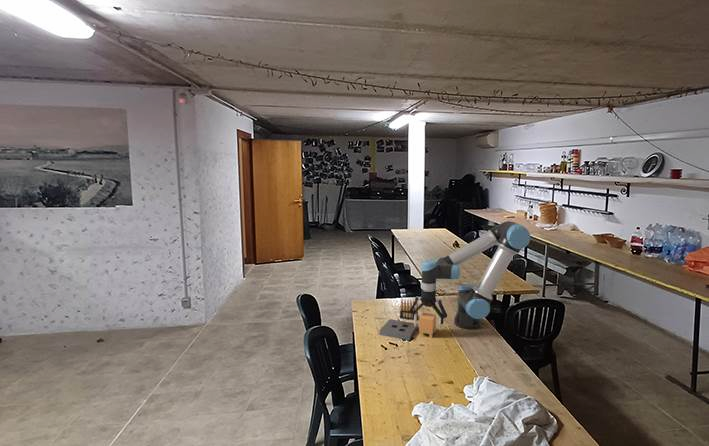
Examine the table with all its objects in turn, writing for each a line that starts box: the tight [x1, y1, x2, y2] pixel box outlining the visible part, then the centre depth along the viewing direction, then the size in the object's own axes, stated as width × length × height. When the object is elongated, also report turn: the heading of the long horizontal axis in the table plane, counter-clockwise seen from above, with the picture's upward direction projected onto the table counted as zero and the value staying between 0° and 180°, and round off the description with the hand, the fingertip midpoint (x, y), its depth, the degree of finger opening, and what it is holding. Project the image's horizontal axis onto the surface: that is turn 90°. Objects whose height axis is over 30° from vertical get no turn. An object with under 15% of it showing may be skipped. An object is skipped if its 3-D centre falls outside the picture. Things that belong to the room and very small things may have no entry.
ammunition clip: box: [399, 298, 419, 321], centre depth 233 cm, size 11×2×12 cm, turn 71°
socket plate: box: [378, 318, 419, 341], centre depth 216 cm, size 17×17×2 cm
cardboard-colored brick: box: [418, 312, 437, 338], centre depth 212 cm, size 7×8×10 cm
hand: (427, 327), depth 213 cm, fingers open, 13 cm apart
